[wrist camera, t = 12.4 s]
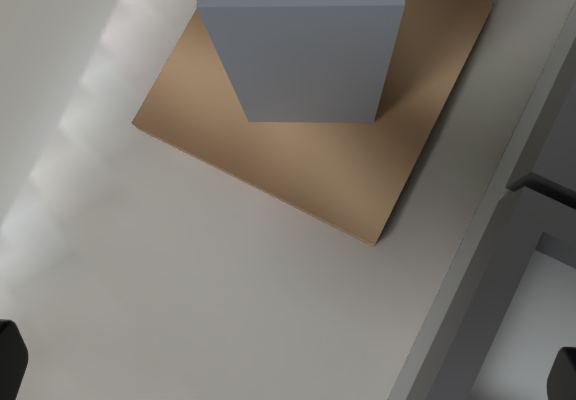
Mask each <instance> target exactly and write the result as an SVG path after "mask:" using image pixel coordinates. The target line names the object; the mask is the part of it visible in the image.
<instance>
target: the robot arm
mask: <svg viewBox="0 0 576 400" xmlns="http://www.w3.org/2000/svg"><path fill="white" fill-rule="evenodd" d="M27 364H28V350H27V348H26V345H25V343H24V341H23V339H22V336H21V334H20V332H19V330H18V327H17V325H16V324H15V323H14V322H13V321H12V320H4V319H0V400H16V397H17V394H18V391H19V388H20V385H21V382H22V379H23V376H24V373H25V370H26V367H27ZM546 388H547V396H548V400H576V347H562V348H561V349H560V350H559V351H558V353H557V355H556V358H555V360H554V363H553V365H552V368H551V370H550V373H549V375H548V378H547V385H546Z"/></svg>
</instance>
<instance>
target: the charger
mask: <svg viewBox="0 0 576 400" xmlns="http://www.w3.org/2000/svg"><path fill="white" fill-rule="evenodd" d="M404 8H405V0H197V10H198V12H199V14H200V16H201V18H202V20H203V23H204V25H205V27H206V29H207V31H208V34H209V36H210V38H211V40H212V42H213V45H214V47H215V49H216V51H217V53H218V56H219V58H220V60H221V62H222V64H223V67H224V69H225V71H226V73H227V75H228V78H229V80H230V82H231V84H232V86H233V89H234V91H235V93H236V95H237V97H238V100H239V102H240V104H241V106H242V108H243V111H244V113H245V115H246V117H247V119H248V121H249V122H312V123H374V120H375V116H376V112H377V109H378V105H379V101H380V97H381V94H382V90H383V86H384V82H385V79H386V75H387V71H388V67H389V64H390V60H391V56H392V52H393V49H394V45H395V41H396V38H397V34H398V30H399V26H400V23H401V19H402V15H403V11H404Z"/></svg>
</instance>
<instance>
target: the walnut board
mask: <svg viewBox="0 0 576 400" xmlns="http://www.w3.org/2000/svg"><path fill="white" fill-rule="evenodd" d="M493 5H494V3H492V2H489V1H487V0H405V8H404V11H403V15H402V19H401V23H400V26H399V30H398V34H397V38H396V41H395V45H394V49H393V52H392V56H391V60H390V64H389V67H388V71H387V75H386V79H385V82H384V86H383V90H382V94H381V97H380V101H379V105H378V109H377V112H376V116H375V120H374V123H312V122H249V121H248V119H247V117H246V115H245V113H244V111H243V108H242V106H241V104H240V102H239V100H238V97H237V95H236V93H235V91H234V89H233V86H232V84H231V82H230V80H229V78H228V75H227V73H226V71H225V69H224V67H223V64H222V62H221V60H220V58H219V56H218V53H217V51H216V49H215V47H214V45H213V42H212V40H211V38H210V36H209V34H208V31H207V29H206V27H205V25H204V23H203V20H202V18H201V16H200V14H199V12H198V10H197V9H196V11H195V13H194V14H193V16H192V18H191V20H190V21H189V23H188V25H187V27H186V28H185V30H184V32H183V34H182V35H181V37H180V39H179V41H178V42H177V44H176V46H175V48H174V49H173V51H172V53H171V55H170V56H169V58H168V60H167V62H166V64H165V65H164V67H163V69H162V71H161V72H160V74H159V76H158V78H157V79H156V81H155V83H154V85H153V86H152V88H151V90H150V92H149V93H148V95H147V97H146V99H145V100H144V102H143V104H142V106H141V107H140V109H139V111H138V113H137V114H136V116H135V118H134V120H133V121H132V124H133V125H134V126H135V127H137V128H138V129H139V130H141V131H143V132H145V133H147V134H149V135H151V136H153V137H155V138H157V139H159V140H161V141H163V142H165V143H167V144H169V145H171V146H173V147H175V148H177V149H179V150H181V151H183V152H185V153H187V154H189V155H191V156H193V157H195V158H197V159H199V160H201V161H203V162H205V163H207V164H209V165H211V166H213V167H215V168H217V169H219V170H221V171H223V172H225V173H227V174H229V175H231V176H233V177H235V178H237V179H239V180H241V181H243V182H245V183H247V184H249V185H251V186H253V187H255V188H257V189H259V190H261V191H263V192H265V193H267V194H269V195H271V196H273V197H275V198H277V199H279V200H281V201H283V202H285V203H287V204H289V205H291V206H293V207H295V208H297V209H299V210H301V211H303V212H305V213H307V214H309V215H311V216H313V217H315V218H317V219H319V220H321V221H323V222H325V223H327V224H329V225H331V226H333V227H335V228H337V229H339V230H341V231H343V232H345V233H347V234H349V235H351V236H353V237H355V238H357V239H359V240H361V241H363V242H365V243H367V244H369V245H371V246H374V245H375V244H376V242H377V240H378V238H379V236H380V234H381V232H382V230H383V228H384V225H385V223H386V221H387V219H388V217H389V215H390V213H391V211H392V209H393V207H394V205H395V203H396V201H397V199H398V197H399V195H400V193H401V191H402V189H403V187H404V185H405V183H406V181H407V179H408V177H409V175H410V173H411V171H412V169H413V167H414V165H415V163H416V161H417V159H418V157H419V155H420V153H421V150H422V148H423V146H424V144H425V142H426V140H427V138H428V136H429V134H430V132H431V130H432V128H433V126H434V124H435V122H436V120H437V118H438V116H439V114H440V112H441V110H442V108H443V106H444V104H445V102H446V100H447V98H448V96H449V94H450V92H451V90H452V88H453V86H454V84H455V82H456V80H457V78H458V75H459V73H460V71H461V69H462V67H463V65H464V63H465V61H466V59H467V57H468V55H469V53H470V51H471V49H472V47H473V45H474V43H475V41H476V39H477V37H478V35H479V33H480V31H481V29H482V27H483V25H484V23H485V21H486V19H487V17H488V15H489V13H490V11H491V9H492V7H493Z"/></svg>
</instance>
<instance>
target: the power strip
mask: <svg viewBox="0 0 576 400" xmlns="http://www.w3.org/2000/svg"><path fill="white" fill-rule="evenodd" d="M562 347H576V2H575V4H574V6H573V8H572V10H571V12H570V14H569V17H568V19H567V21H566V23H565V25H564V27H563V29H562V31H561V34H560V36H559V38H558V40H557V42H556V44H555V46H554V48H553V50H552V53H551V55H550V57H549V59H548V61H547V63H546V65H545V67H544V70H543V72H542V74H541V76H540V78H539V80H538V82H537V84H536V86H535V89H534V91H533V93H532V95H531V97H530V99H529V101H528V103H527V106H526V108H525V110H524V112H523V114H522V116H521V118H520V120H519V122H518V125H517V127H516V129H515V131H514V133H513V135H512V137H511V139H510V142H509V144H508V146H507V148H506V150H505V152H504V154H503V156H502V158H501V161H500V163H499V165H498V167H497V169H496V171H495V173H494V175H493V177H492V180H491V182H490V184H489V186H488V188H487V190H486V192H485V194H484V197H483V199H482V201H481V203H480V205H479V207H478V209H477V211H476V213H475V216H474V218H473V220H472V222H471V224H470V226H469V228H468V230H467V233H466V235H465V237H464V239H463V241H462V243H461V245H460V247H459V249H458V252H457V254H456V256H455V258H454V260H453V262H452V264H451V266H450V269H449V271H448V273H447V275H446V277H445V279H444V281H443V283H442V285H441V288H440V290H439V292H438V294H437V296H436V298H435V300H434V302H433V305H432V307H431V309H430V311H429V313H428V315H427V317H426V319H425V321H424V324H423V326H422V328H421V330H420V332H419V334H418V336H417V338H416V340H415V343H414V345H413V347H412V349H411V351H410V353H409V355H408V357H407V360H406V362H405V364H404V366H403V368H402V370H401V372H400V374H399V376H398V379H397V381H396V383H395V385H394V387H393V389H392V391H391V393H390V396H389V398H388V400H548V396H547V388H546V385H547V378H548V375H549V373H550V370H551V368H552V365H553V363H554V360H555V358H556V355H557V353H558V351H559V350H560V349H561V348H562Z"/></svg>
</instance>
